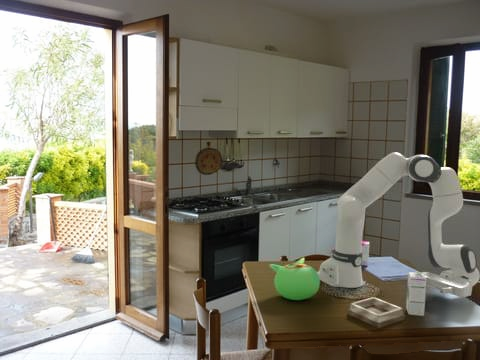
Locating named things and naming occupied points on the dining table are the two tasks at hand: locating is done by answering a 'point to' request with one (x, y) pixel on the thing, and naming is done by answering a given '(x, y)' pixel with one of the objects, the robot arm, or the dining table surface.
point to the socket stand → (376, 312)
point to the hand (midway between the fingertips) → (430, 287)
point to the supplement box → (365, 253)
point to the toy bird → (296, 280)
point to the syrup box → (416, 293)
